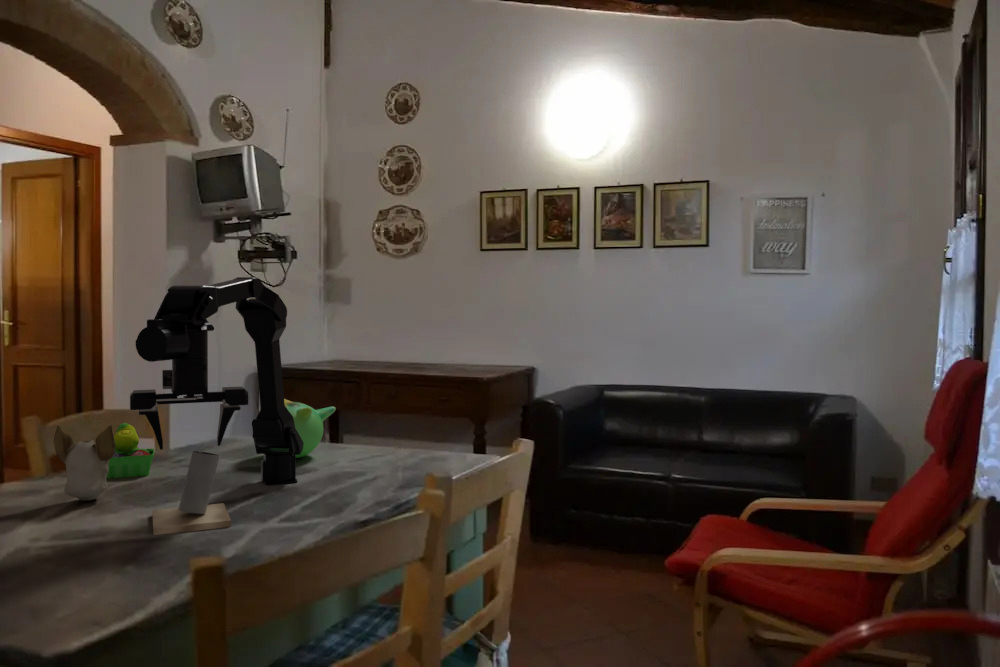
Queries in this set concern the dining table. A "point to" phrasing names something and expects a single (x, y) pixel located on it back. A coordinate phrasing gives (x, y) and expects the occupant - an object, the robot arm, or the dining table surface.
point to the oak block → (189, 520)
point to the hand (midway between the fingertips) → (190, 447)
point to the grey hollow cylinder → (199, 482)
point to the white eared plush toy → (85, 463)
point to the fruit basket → (129, 455)
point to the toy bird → (308, 423)
